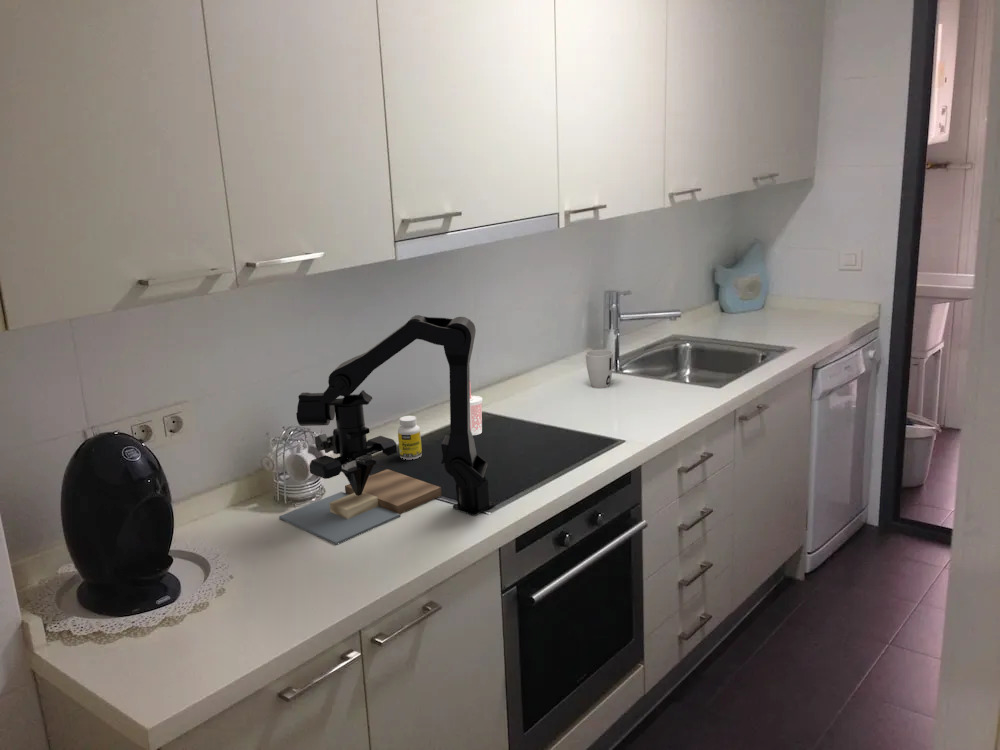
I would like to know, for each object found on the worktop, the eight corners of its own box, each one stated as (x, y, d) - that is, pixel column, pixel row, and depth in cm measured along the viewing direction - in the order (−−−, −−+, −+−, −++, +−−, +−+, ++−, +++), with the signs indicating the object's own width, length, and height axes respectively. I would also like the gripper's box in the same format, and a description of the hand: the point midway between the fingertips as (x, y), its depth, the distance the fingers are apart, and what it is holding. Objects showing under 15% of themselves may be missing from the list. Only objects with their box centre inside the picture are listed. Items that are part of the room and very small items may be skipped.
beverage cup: (486, 428, 234) (482, 376, 231) (483, 436, 228) (479, 383, 225) (462, 428, 235) (459, 377, 231) (459, 436, 229) (455, 384, 225)
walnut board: (441, 495, 193) (440, 487, 192) (398, 514, 185) (397, 505, 184) (388, 477, 205) (387, 469, 205) (345, 494, 197) (344, 485, 196)
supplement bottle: (401, 461, 214) (397, 422, 212) (398, 454, 219) (395, 416, 217) (423, 458, 215) (420, 420, 213) (420, 451, 220) (417, 413, 218)
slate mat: (400, 516, 184) (400, 514, 184) (336, 544, 173) (336, 542, 173) (341, 493, 197) (341, 491, 197) (279, 518, 186) (278, 516, 186)
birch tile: (378, 505, 188) (377, 497, 188) (347, 519, 183) (346, 510, 182) (361, 499, 192) (360, 490, 192) (330, 511, 187) (329, 502, 186)
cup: (613, 389, 261) (612, 356, 258) (585, 389, 262) (584, 356, 260) (614, 381, 269) (613, 349, 266) (587, 381, 270) (586, 349, 267)
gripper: (362, 405, 196) (369, 472, 200) (289, 429, 183) (299, 500, 187) (395, 414, 188) (402, 484, 192) (321, 440, 175) (330, 513, 179)
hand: (358, 494), depth 188 cm, fingers closed
